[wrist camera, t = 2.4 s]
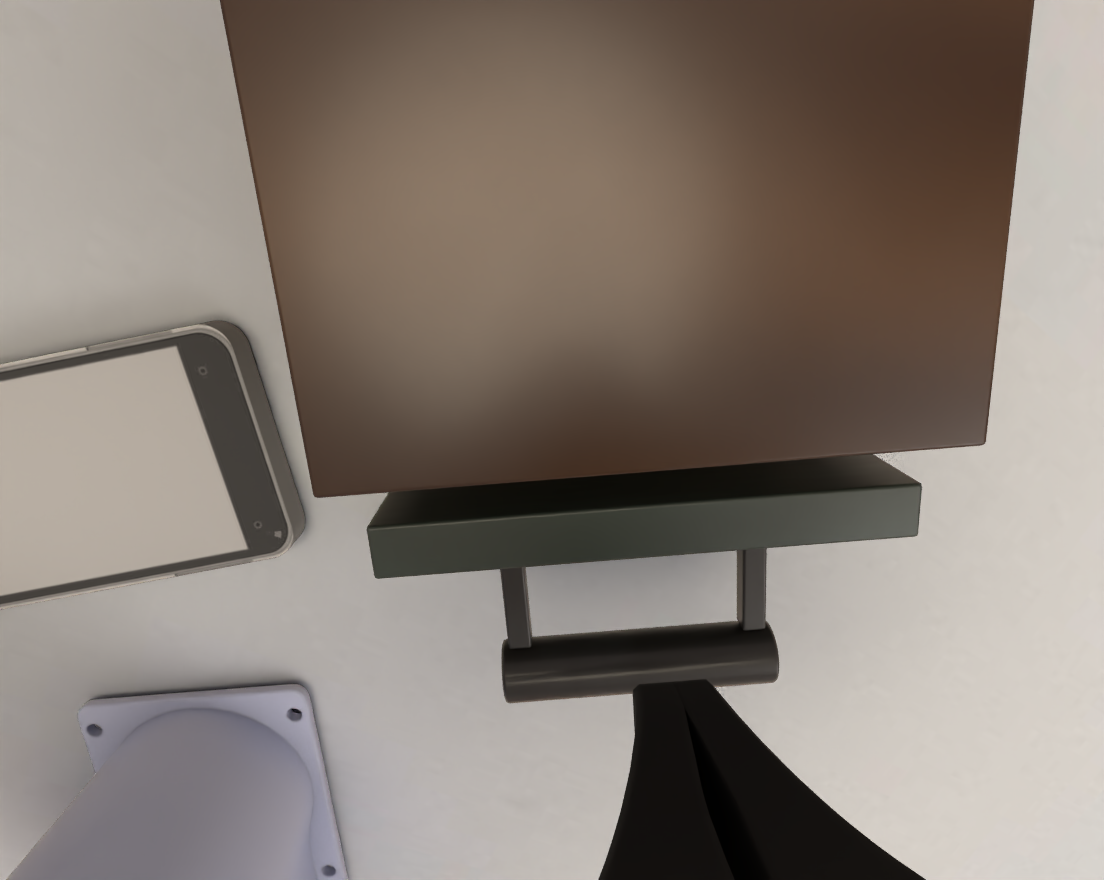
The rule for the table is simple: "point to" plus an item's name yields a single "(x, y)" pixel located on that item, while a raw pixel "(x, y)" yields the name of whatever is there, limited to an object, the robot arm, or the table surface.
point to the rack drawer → (641, 556)
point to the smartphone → (138, 465)
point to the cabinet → (630, 228)
